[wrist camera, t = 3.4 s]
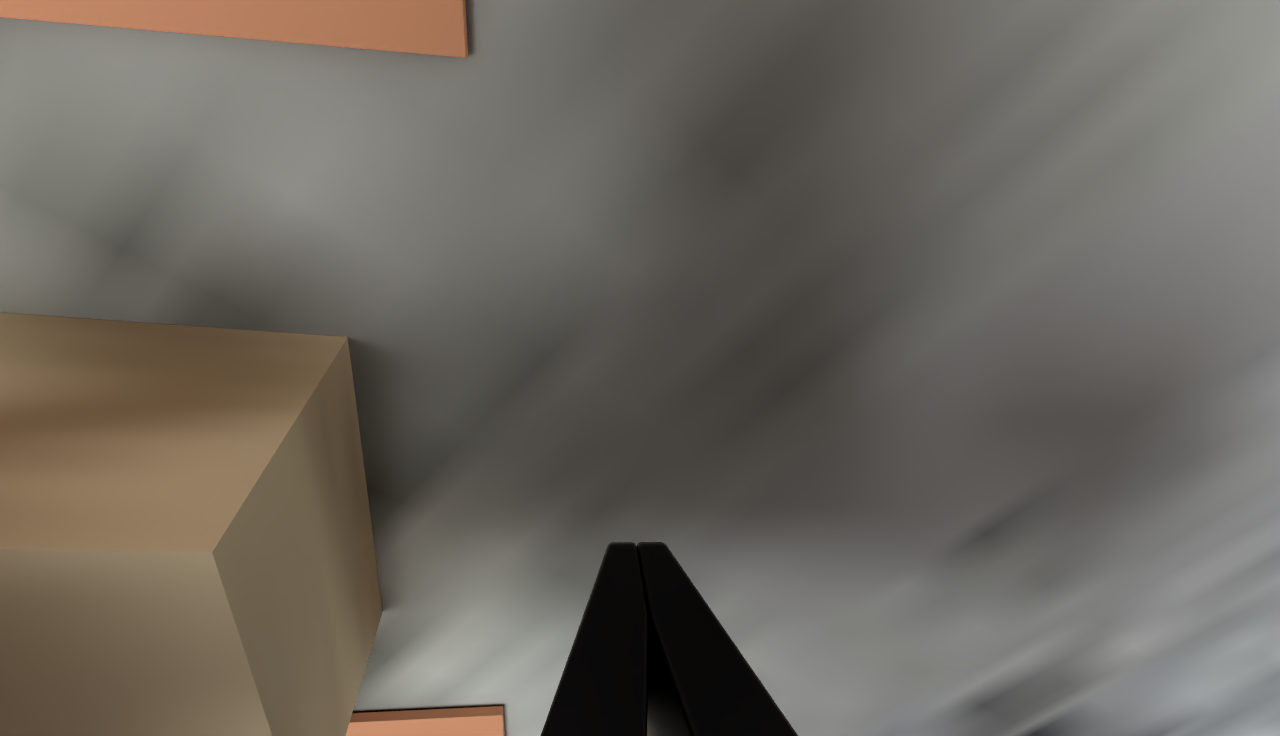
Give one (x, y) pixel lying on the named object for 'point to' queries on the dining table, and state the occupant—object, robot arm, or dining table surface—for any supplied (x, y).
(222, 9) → the mats
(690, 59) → the dining table surface
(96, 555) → the block
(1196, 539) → the dining table surface
